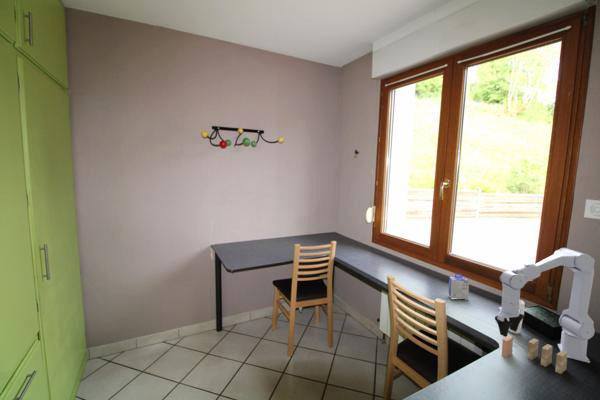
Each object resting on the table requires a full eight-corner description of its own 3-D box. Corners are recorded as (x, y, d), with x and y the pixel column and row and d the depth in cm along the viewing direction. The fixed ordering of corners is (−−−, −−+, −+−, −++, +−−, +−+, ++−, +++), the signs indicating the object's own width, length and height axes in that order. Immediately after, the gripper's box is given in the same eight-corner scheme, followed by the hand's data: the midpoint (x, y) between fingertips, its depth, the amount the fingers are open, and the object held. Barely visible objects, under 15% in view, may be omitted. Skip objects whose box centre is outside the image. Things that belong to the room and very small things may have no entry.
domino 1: (537, 356, 116) (538, 340, 116) (531, 360, 114) (533, 343, 113) (532, 354, 118) (534, 338, 117) (527, 358, 115) (528, 341, 115)
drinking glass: (501, 329, 136) (503, 299, 135) (510, 326, 139) (512, 296, 138) (516, 336, 130) (519, 305, 129) (525, 333, 133) (528, 302, 131)
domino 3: (566, 369, 108) (567, 352, 108) (560, 374, 106) (562, 356, 105) (560, 367, 110) (562, 350, 109) (555, 371, 108) (556, 354, 107)
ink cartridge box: (465, 296, 172) (466, 273, 170) (468, 301, 166) (470, 277, 165) (447, 295, 174) (448, 272, 172) (450, 299, 168) (451, 275, 167)
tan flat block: (551, 362, 112) (552, 346, 112) (545, 366, 110) (547, 349, 109) (546, 360, 114) (547, 344, 113) (540, 364, 111) (542, 347, 111)
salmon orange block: (512, 353, 118) (513, 337, 118) (505, 357, 116) (507, 341, 115) (507, 351, 120) (508, 335, 119) (501, 355, 117) (502, 339, 117)
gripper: (508, 293, 122) (506, 323, 124) (490, 301, 115) (488, 332, 117) (528, 299, 116) (525, 331, 118) (509, 308, 109) (507, 341, 111)
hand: (508, 332), depth 117 cm, fingers open, 7 cm apart
